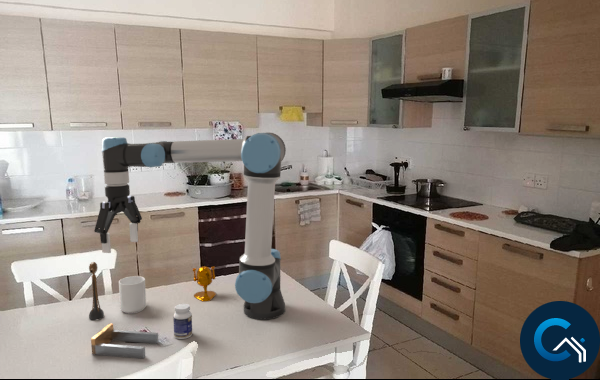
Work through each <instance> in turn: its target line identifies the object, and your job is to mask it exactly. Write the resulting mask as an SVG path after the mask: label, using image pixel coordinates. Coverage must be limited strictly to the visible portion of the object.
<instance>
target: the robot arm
mask: <svg viewBox="0 0 600 380" xmlns="http://www.w3.org/2000/svg"><path fill="white" fill-rule="evenodd" d="M127 141H128V140H127V138H126V137H121V136H118V137H117V136H116V137H114V136H111V137H104V138H103V139H102V140H101V142H102V143H101V153H102V161H103V163H102V165H103V176H104V178H103V179H104V184H105V186H104V193H105V194H104V195H105V197H106V198H107V201H100V203H99V206H100V207H99V212H98V216H97V220H96V222H95V227H94V233H97V234H99V238H100V239H99V240H100V243H101V250H102V253H103V254H105V253H106V254H111V253H112V248H111V233H110V232H109V230H110V227H111V225H112V223H113V221H114V219H115V217H116V216H117V215H118V214H120V213H122V212H123V214H124V215H125V216H126V218H127V219H128V220H129V221H130V223H128V225H129V240H130V241H129V242H131V243H132V242H133V243H138V242H139V237H138V236H139V235H138V233H139V225H138V224H141V220H142V219H143V217H142V215H141V212H140V210H139V207H138V206H137V204H136V200H135V195H130V194H131V192H130V191H131V190H130V184H129V183H130V174H129V167H130V168H131V167H133V168H134V167H136V168H137V167H138V168H139V167H142V168H157V167H158V168H160V167H162V166H163V164H175V163H179V164H180V163H181V164H182V163H214V162H215V163H216V162H217V163H218V162H220V163H221V162H223V163H224V162H242V163H243V177H244V178H245V179H246V180H247V192H246V193H247V198H246V199H247V200H246V213H245V214H246V215H245V216H246V217H245V218H246V219H245V233H244V234H245V235H244V236H245V239H244V240H245V241H244V253H243V254H241V256H239V260H238V261H239V265H238V275H237V276H236V278H235V283H234V289H235V291H236V294H237V295H238V296H239V297H240V298H241V299H242V300H243V301H244V302H243V303H244V304H243V314H244V315H245V316H246V317H248V318H251V319H255V320H272V319H277V318H278V317H281V316H283V315H284V314H285V312H286V303H285V299H284V296H283V293H282V290H281V260H282V257H281V252H280V250H278V249H276V248H272V243H273V227H274V226H273V225H274V212H275V211H274V210H275V209H274V208H275V207H274V206H275V195H276V194H275V193H276V191H275V190H276V183H277V181H278V180H279V179H280V178H281V172H282V171H281V170H282V162H283V161H284V158H285V155H286V150H287V148H286V144H285V141H284V140H283V139H282V138H281V137H280V136H279V135H278V134H276V133H274V132H258V133H255V134H252V135H247V136H245V137H244V138H237V139H231V138H230V139H211V140H207V139H206V140H202V139H201V140H177V141H175V140H174V141H166V140H165V141H164V140H163V141H162V140H161V141H157V142H147V143H128V142H127Z"/></svg>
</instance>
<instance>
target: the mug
mask: <svg viewBox="0 0 600 380" xmlns="http://www.w3.org/2000/svg"><path fill="white" fill-rule="evenodd" d="M118 290H119V291H118V292H119V294H118V295H119V309H120V311H122V312H123V313H125V314H137V313H140V312H142V311H143V310H144V309H145V308H146V306H147V293H146V291H147V290H146V278H145V277H144V276H140V275H134V276H133V275H132V276H126V277H124V278H120V280H118Z"/></svg>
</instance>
